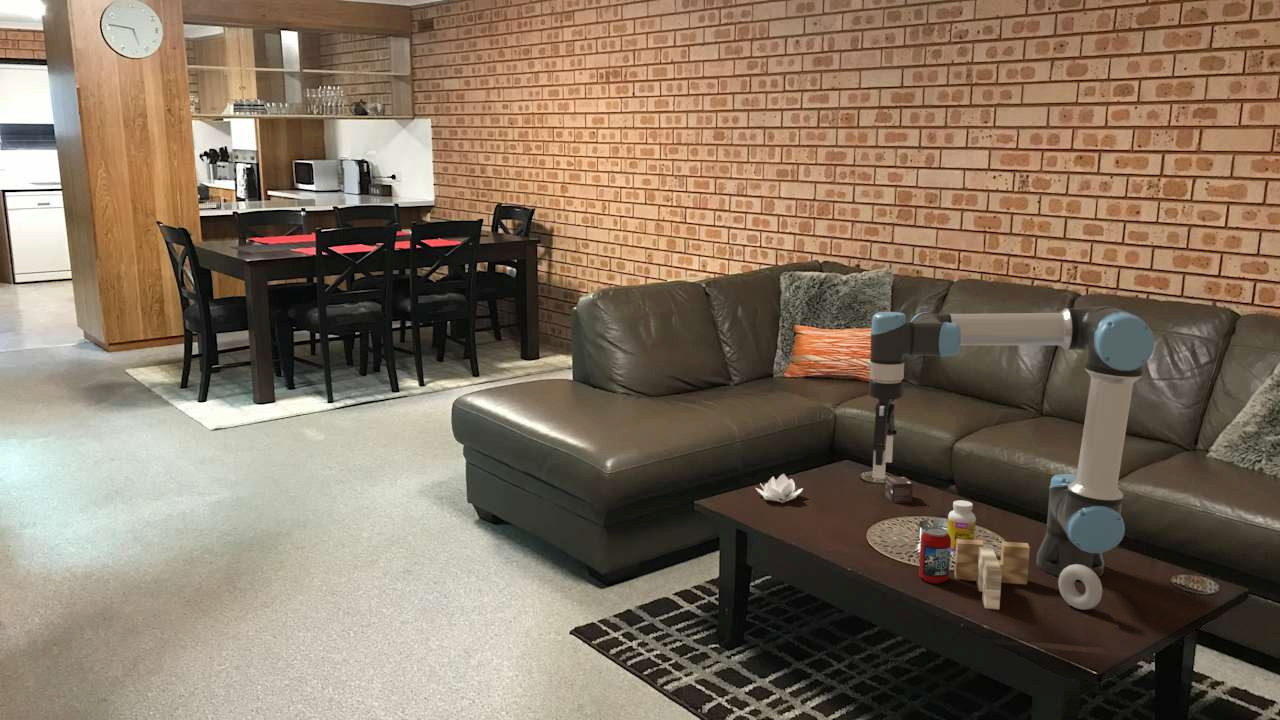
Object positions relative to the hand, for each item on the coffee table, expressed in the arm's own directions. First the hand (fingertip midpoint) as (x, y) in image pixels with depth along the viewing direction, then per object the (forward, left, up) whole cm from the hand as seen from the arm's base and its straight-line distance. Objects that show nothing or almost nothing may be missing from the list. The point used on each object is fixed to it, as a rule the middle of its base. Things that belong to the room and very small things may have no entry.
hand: (882, 469), depth 242 cm
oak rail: (-26, -4, -26) cm, 37 cm away
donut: (-43, +10, -27) cm, 51 cm away
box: (-8, -56, -27) cm, 62 cm away
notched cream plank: (-24, +6, -27) cm, 36 cm away
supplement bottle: (-21, -21, -27) cm, 40 cm away
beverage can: (-13, -1, -27) cm, 30 cm away
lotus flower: (+25, -49, -27) cm, 62 cm away
